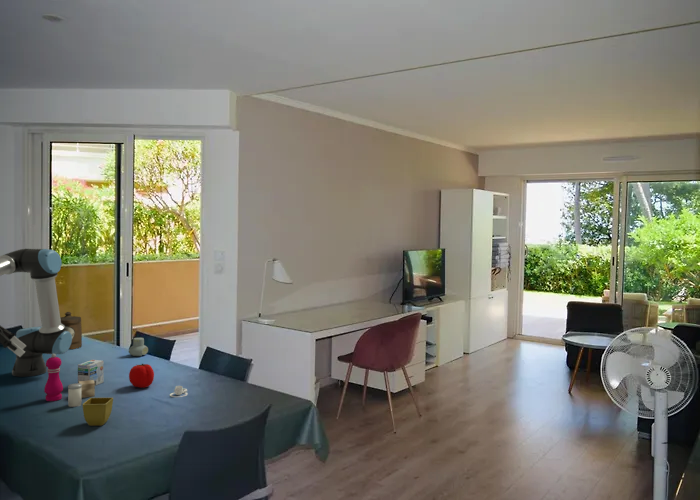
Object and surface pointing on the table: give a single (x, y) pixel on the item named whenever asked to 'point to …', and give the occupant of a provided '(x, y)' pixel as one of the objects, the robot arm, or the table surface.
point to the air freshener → (138, 347)
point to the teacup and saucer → (179, 391)
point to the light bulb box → (91, 371)
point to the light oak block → (87, 388)
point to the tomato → (141, 375)
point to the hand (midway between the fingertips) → (23, 351)
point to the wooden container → (73, 329)
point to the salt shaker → (74, 395)
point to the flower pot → (97, 410)
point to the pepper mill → (53, 379)
